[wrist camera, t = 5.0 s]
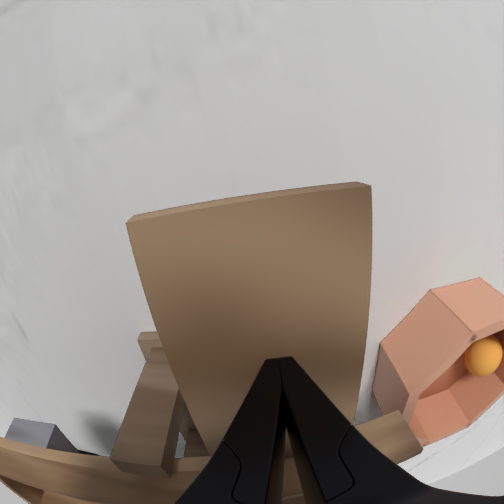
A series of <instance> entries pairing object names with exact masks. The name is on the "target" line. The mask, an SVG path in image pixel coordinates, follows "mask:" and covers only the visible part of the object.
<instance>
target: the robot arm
mask: <svg viewBox="0 0 504 504" xmlns="http://www.w3.org/2000/svg"><path fill="white" fill-rule="evenodd" d="M286 429H287V433H288V437H289V441H290V445H291V449H292V452H293V456H294V460H295V464H296V468H297V472H298V476H299V480H300V483H301V487H302V491H303V495H304V499H305V502H306V504H504V496H482V495H474V494H466V493H459V492H453V491H448V490H442V489H437V488H434V487H431V486H428V485H426V484H424V483H422V482H420V481H419V480H417V479H416V478H414V477H413V476H412V475H410V474H409V473H408V472H406V471H405V470H404V469H402V468H401V467H400V466H398V465H397V464H396V463H394V462H393V461H392V460H390V459H389V458H388V457H386V456H385V455H384V454H383V453H382V452H380V451H379V450H378V449H377V448H376V447H374V446H373V445H372V444H371V443H370V442H369V441H368V440H367V439H366V438H365V437H364V436H363V435H362V434H361V433H360V432H359V431H358V430H357V429H356V428H355V426H354V425H352V423H351V422H350V421H349V420H348V419H347V418H346V417H345V416H344V415H343V413H342V412H341V411H340V410H339V409H338V408H337V407H336V406H335V405H334V403H333V402H332V401H331V400H330V399H329V398H328V397H327V396H326V394H325V393H324V392H323V391H322V390H321V389H320V388H319V386H318V385H317V384H316V383H315V382H314V381H313V380H312V379H311V377H310V376H309V375H308V374H307V373H306V372H305V370H304V369H303V368H302V367H301V366H300V365H299V364H298V362H297V361H296V360H295V359H294V358H293V357H292V356H287V357H280V358H270V359H266V360H265V361H264V363H263V365H262V367H261V368H260V370H259V372H258V374H257V376H256V378H255V380H254V382H253V384H252V386H251V388H250V389H249V391H248V393H247V395H246V397H245V399H244V401H243V403H242V404H241V406H240V408H239V410H238V412H237V414H236V415H235V417H234V419H233V421H232V423H231V424H230V426H229V428H228V430H227V431H226V433H225V435H224V437H223V438H222V440H223V441H221V442H220V443H219V445H218V447H217V449H216V450H215V452H214V453H213V455H212V457H211V458H210V460H209V461H208V463H207V464H206V466H205V467H204V468H203V469H202V471H201V472H200V473H199V475H198V476H197V477H196V478H195V480H194V481H193V482H192V483H191V484H190V485H189V487H188V488H187V489H186V490H185V491H184V492H183V494H182V495H181V496H180V497H179V498H178V499H177V500H176V501H175V503H174V504H282V494H283V479H284V462H285V442H286ZM79 452H80V453H81V454H85V455H94V456H97V455H95V454H91V453H87V452H82V451H79Z"/></svg>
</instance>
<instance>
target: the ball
mask: <svg viewBox="0 0 504 504" xmlns="http://www.w3.org/2000/svg"><path fill="white" fill-rule="evenodd" d="M501 359H502V346H501V343H500V341H499V340H498V339H497V338H496V337H495V336H493V335H489V336H487V337H484V338H482V339H479V340H477V341H474V342H473V343H472V344H471V345H470V346H469V347H468V348H467V349H466V353H465V364H466V367H467V369H468V371H469V372H470V373H471V374H473V375H475V376H477V377H484V376H488V375H490V374H491V373H493V372H494V371H495V370H496V369H497V367H498V366H499V364H500V362H501Z"/></svg>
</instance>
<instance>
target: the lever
mask: <svg viewBox="0 0 504 504" xmlns="http://www.w3.org/2000/svg"><path fill="white" fill-rule="evenodd" d="M126 226H127V231H128V235H129V239H130V243H131V247H132V250H133V254H134V258H135V262H136V265H137V269H138V272H139V276H140V279H141V283H142V286H143V289H144V293H145V296H146V299H147V302H148V305H149V309H150V312H151V315H152V318H153V321H154V324H155V327H156V329H157V332H158V335H159V338H160V341H161V343H162V346H163V349H164V352H165V354H166V357H167V360H168V362H169V365H170V367H171V370H172V372H173V375H174V377H175V380H176V382H177V385H178V387H179V389H180V392H181V394H182V397H183V399H184V401H185V403H186V406H187V408H188V410H189V412H190V415H191V417H192V419H193V421H194V423H195V425H196V428H197V430H198V432H199V434H200V436H201V438H202V440H203V442H204V444H205V446H206V448H207V450H208V452H209V454H210V456H205V457H191V458H174V462H173V467H172V473H171V478H164V477H155V476H147V475H139V474H133V473H127V472H122V471H121V470H120V469H119V468H118V467H117V466H116V465H115V464H114V463H113V462H112V461H111V460H110V457H105V456H94V455H85V454H81V453H80V452H79V451H78V450H77V449H76V448H75V447H74V446H73V445H72V444H71V442H70V441H69V440H68V439H67V438H66V437H65V435H64V434H63V433H62V432H61V431H60V429H59V428H58V427H57V426H56V425H55V424H50V423H43V422H36V421H30V420H24V419H19V418H14V419H13V421H12V423H11V425H10V427H9V429H8V431H7V434H6V436H5V438H3V437H0V481H1V482H2V483H3V484H4V485H6V486H7V487H8V488H10V489H11V490H12V491H13V492H14V493H16V494H17V495H18V496H20V497H21V498H22V499H23V500H25V501H26V502H28V503H29V504H174V503H175V501H176V500H177V499H178V498H179V497H180V496H181V495H182V494H183V492H184V491H185V490H186V489H187V488H188V487H189V485H190V484H191V483H192V482H193V481H194V480H195V478H196V477H197V476H198V475H199V473H200V472H201V471H202V469H203V468H204V467H205V466H206V464H207V463H208V461H209V460H210V458H211V457H212V455H213V453H214V452H215V450H216V449H217V447H218V445H219V443H220V442H221V441H223V440H222V438H223V437H224V435H225V433H226V431H227V430H228V428H229V426H230V424H231V423H232V421H233V419H234V417H235V415H236V414H237V412H238V410H239V408H240V406H241V404H242V403H243V401H244V399H245V397H246V395H247V393H248V391H249V389H250V388H251V386H252V384H253V382H254V380H255V378H256V376H257V374H258V372H259V370H260V368H261V367H262V365H263V363H264V361H265V360H266V359H270V358H280V357H287V356H292V357H293V358H294V359H295V360H296V361H297V362H298V364H299V365H300V366H301V367H302V368H303V369H304V370H305V372H306V373H307V374H308V375H309V376H310V377H311V379H312V380H313V381H314V382H315V383H316V384H317V385H318V386H319V388H320V389H321V390H322V391H323V392H324V393H325V394H326V396H327V397H328V398H329V399H330V400H331V401H332V402H333V403H334V405H335V406H336V407H337V408H338V409H339V410H340V411H341V412H342V413H343V415H344V416H345V417H346V418H347V419H348V420H349V421H350V422H351V423H352V425H353V422H354V417H355V412H356V407H357V401H358V396H359V390H360V384H361V377H362V370H363V363H364V355H365V347H366V338H367V328H368V317H369V305H370V290H371V269H372V193H371V185H367V184H364V183H360V182H348V183H338V184H329V185H320V186H311V187H303V188H295V189H287V190H280V191H272V192H265V193H258V194H251V195H244V196H238V197H231V198H225V199H219V200H213V201H207V202H201V203H195V204H190V205H184V206H179V207H173V208H168V209H163V210H158V211H153V212H148V213H143V214H138V215H134V216H133V217H132V218H130V219H129V220H128V221H127V222H126ZM355 428H356V429H357V430H358V431H359V432H360V433H361V434H362V435H363V436H364V437H365V438H366V439H367V440H368V441H369V442H370V443H371V444H372V445H373V446H374V447H376V448H377V449H378V450H379V451H380V452H382V453H383V454H384V455H385V456H386V457H388V458H389V459H390V460H392V461H393V462H394V463H396V464H399V463H401V462H403V461H405V460H408V459H410V458H412V457H414V456H416V455H418V454H420V453H421V452H422V450H423V448H422V446H421V444H420V443H419V441H418V440H417V438H416V437H415V435H414V433H413V432H412V430H411V429H410V427H409V425H408V424H407V422H406V421H405V419H404V418H403V416H402V414H401V413H400V411H399V410H397V411H394V412H392V413H389V414H387V415H384V416H381V417H379V418H376V419H373V420H371V421H368V422H365V423H362V424H359V425H356V426H355ZM282 504H306V502H305V499H304V495H303V491H302V487H301V483H300V480H299V476H298V472H297V468H296V464H295V460H294V456H293V452H292V449H291V445H290V441H289V437H288V433H287V429H286V442H285V462H284V479H283V494H282Z"/></svg>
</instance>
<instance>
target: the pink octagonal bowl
mask: <svg viewBox="0 0 504 504" xmlns="http://www.w3.org/2000/svg"><path fill="white" fill-rule="evenodd" d="M489 335H493V336H495V337H496V338H497V339H498V340H499V341H500V343H501V346H502V359H501V362H500V364H499V366H498V367H497V369H496V370H495V371H494V372H493V373H491V374H490V375H488V376H484V377H477V376H475V375H473V374H471V373H470V372H469V371H468V369H467V367H466V364H465V353H466V349H467V348H468V347H469V346H470V345H471V344H472V343H473V342H474V341H477V340H479V339H482V338H484V337H487V336H489ZM372 390H373V393H374V395H375V397H376V400H377V402H378V404H379V407H380V409H381V412H382V414H383V416H384V415H387V414H389V413H392V412H394V411H397V410H399V411H400V413H401V414H402V416H403V418H404V419H405V421H406V422H407V424H408V425H409V427H410V429H411V430H412V432H413V433H414V435H415V437H416V438H417V440H418V441H419V443H420V444H421V446H422V447H424V446H427V445H429V444H432V443H434V442H436V441H439V440H441V439H443V438H446V437H448V436H450V435H452V434H455V433H457V432H459V431H461V430H463V429H465V428H467V427H469V426H470V425H471V424H472V423H473V422H475V421H476V420H477V419H478V418H479V417H480V416H481V415H482V414H483V413H484V412H485V411H487V410H488V409H489V408H490V407H491V406H492V405H493V404H494V403H495V402H496V401H497V400H498V399H499V398H500V397H501V396H502V395H503V394H504V295H502V294H501V293H500V292H498V291H497V290H496V289H495V288H493V287H492V286H491V285H489V284H488V283H487V282H485V281H484V280H483V279H481V278H480V277H479V278H476V279H472V280H468V281H464V282H461V283H456V284H452V285H448V286H444V287H440V288H435V289H430V291H429V292H428V293H427V294H426V295H425V296H424V297H423V299H422V300H421V301H420V302H419V303H418V304H417V305H416V306H415V307H414V309H413V310H412V311H411V312H410V313H409V314H408V315H407V316H406V317H405V318H404V319H403V320H402V321H401V322H400V323H399V324H398V325H397V326H396V328H395V329H394V330H393V331H392V332H391V333H390V334H389V335H388V336H387V337H386V338H384V339H383V340H382V341H381V342H380V349H379V356H378V362H377V367H376V373H375V378H374V383H373V388H372Z"/></svg>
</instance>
